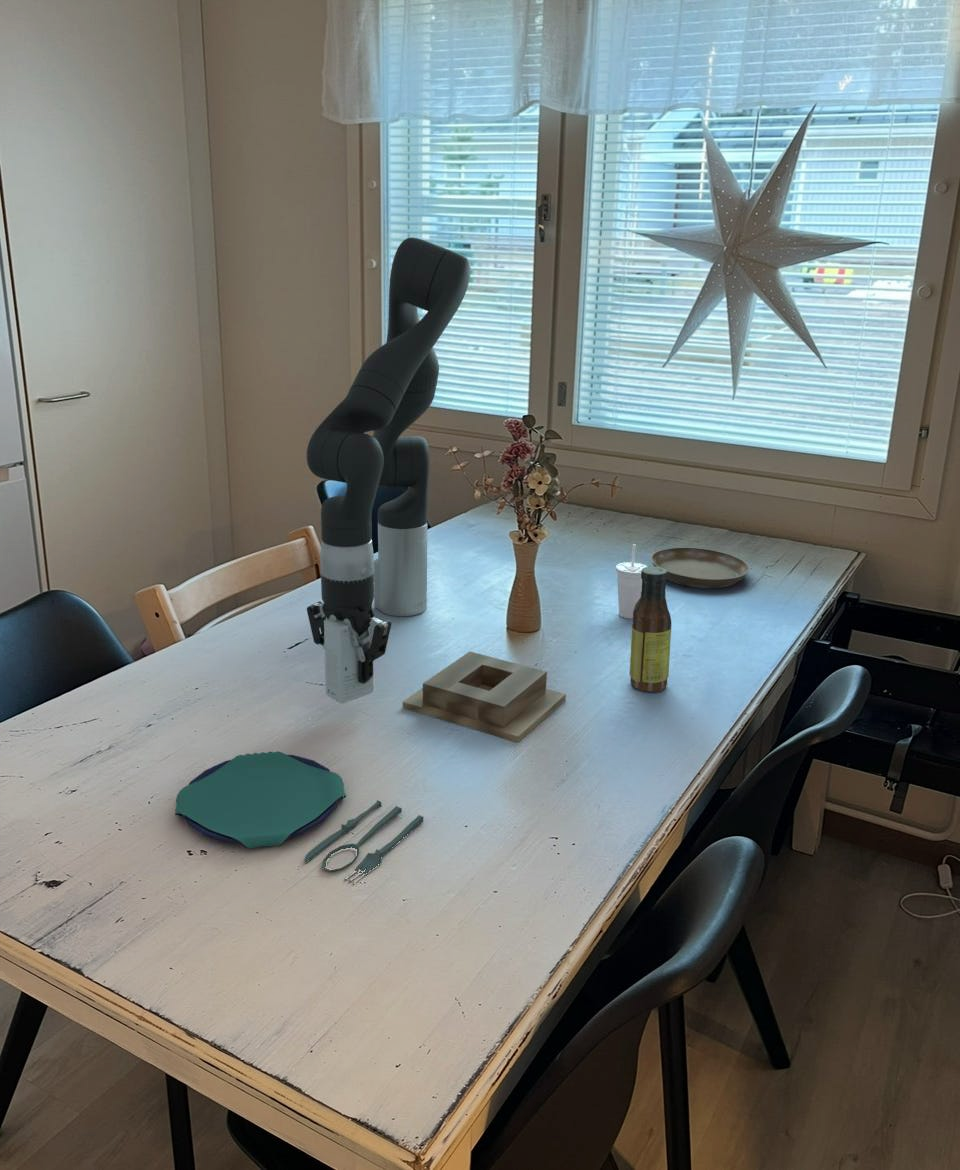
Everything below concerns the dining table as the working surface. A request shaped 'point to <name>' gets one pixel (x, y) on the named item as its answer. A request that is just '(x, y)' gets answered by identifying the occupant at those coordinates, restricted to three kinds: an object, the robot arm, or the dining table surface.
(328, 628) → the skincare box
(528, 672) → the socket holder
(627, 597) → the smoothie
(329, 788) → the cutlery set
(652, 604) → the sauce bottle
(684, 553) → the plant saucer
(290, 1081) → the dining table surface
